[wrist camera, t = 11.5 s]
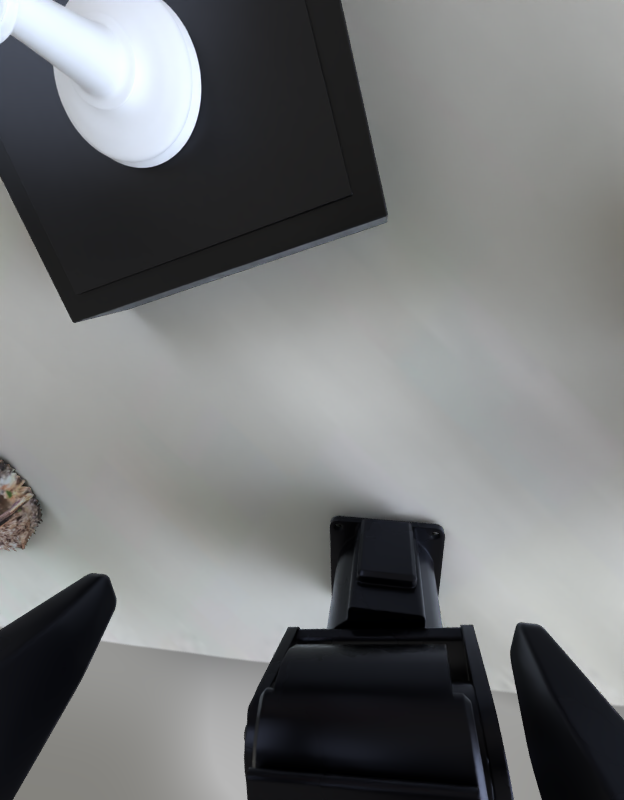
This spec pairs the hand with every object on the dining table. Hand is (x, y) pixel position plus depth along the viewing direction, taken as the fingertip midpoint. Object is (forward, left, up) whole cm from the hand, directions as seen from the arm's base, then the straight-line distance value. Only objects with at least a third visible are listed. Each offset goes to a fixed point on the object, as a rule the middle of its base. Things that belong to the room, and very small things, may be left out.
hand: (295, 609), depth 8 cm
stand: (+13, +7, -13) cm, 20 cm away
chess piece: (+13, +7, -9) cm, 17 cm away
